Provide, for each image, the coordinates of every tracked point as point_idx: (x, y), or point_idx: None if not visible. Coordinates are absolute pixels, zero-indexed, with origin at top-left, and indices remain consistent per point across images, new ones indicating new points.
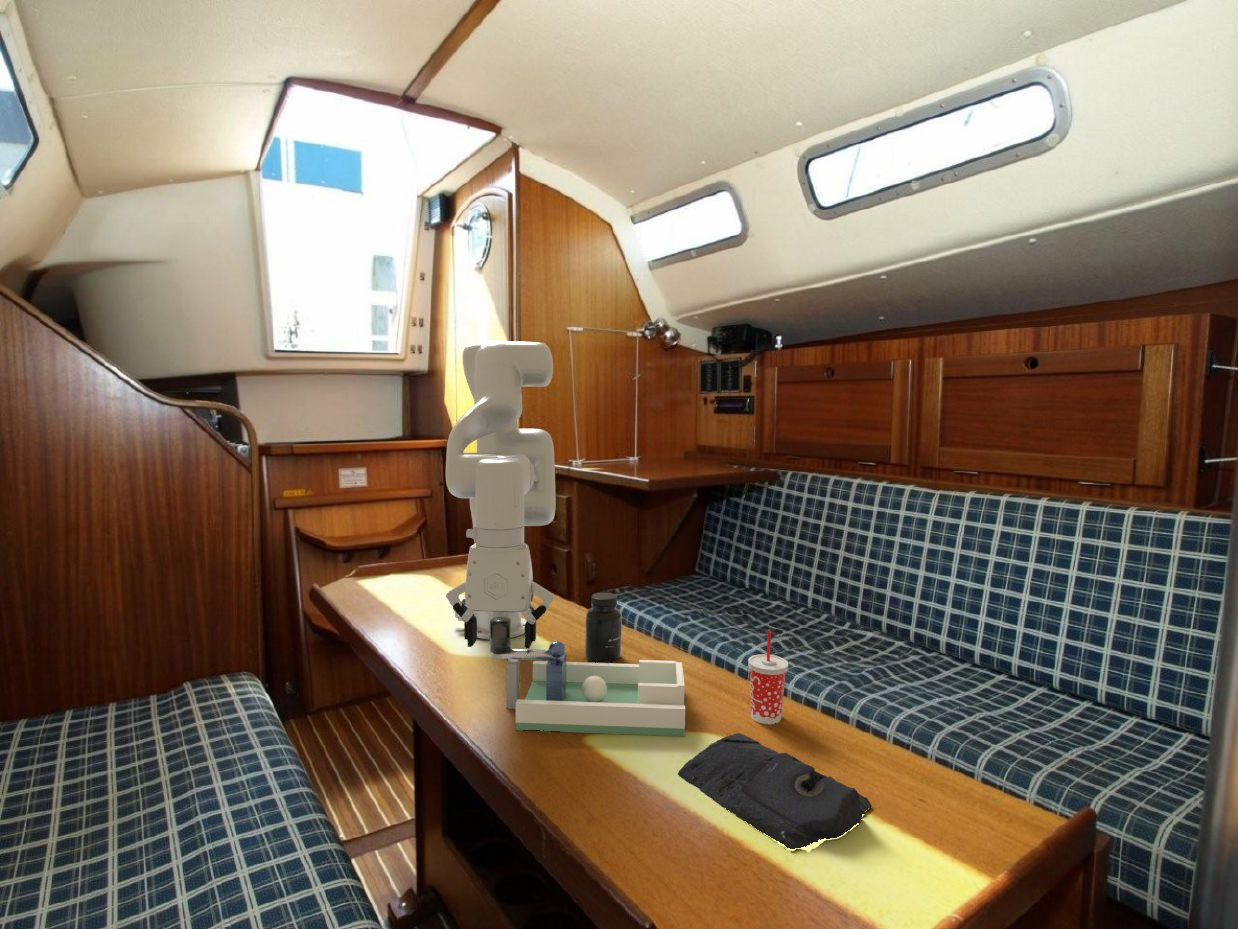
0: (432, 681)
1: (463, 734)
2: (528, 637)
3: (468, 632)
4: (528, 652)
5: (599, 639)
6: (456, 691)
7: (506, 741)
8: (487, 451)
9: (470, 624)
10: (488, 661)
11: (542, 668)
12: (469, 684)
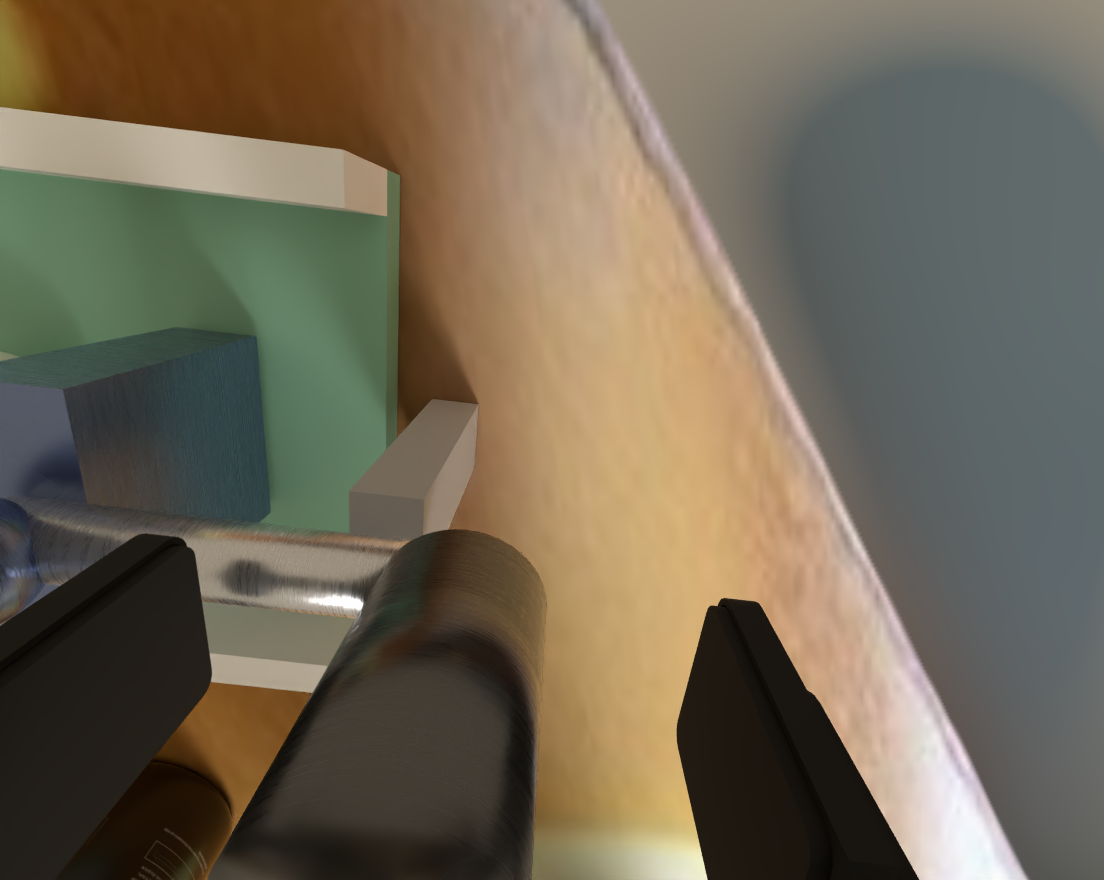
0: (824, 658)
1: (654, 141)
2: (46, 604)
3: (809, 717)
4: (213, 551)
5: (77, 872)
6: (717, 571)
7: (426, 50)
8: None
9: (835, 832)
10: (607, 799)
11: (314, 645)
12: (666, 627)
